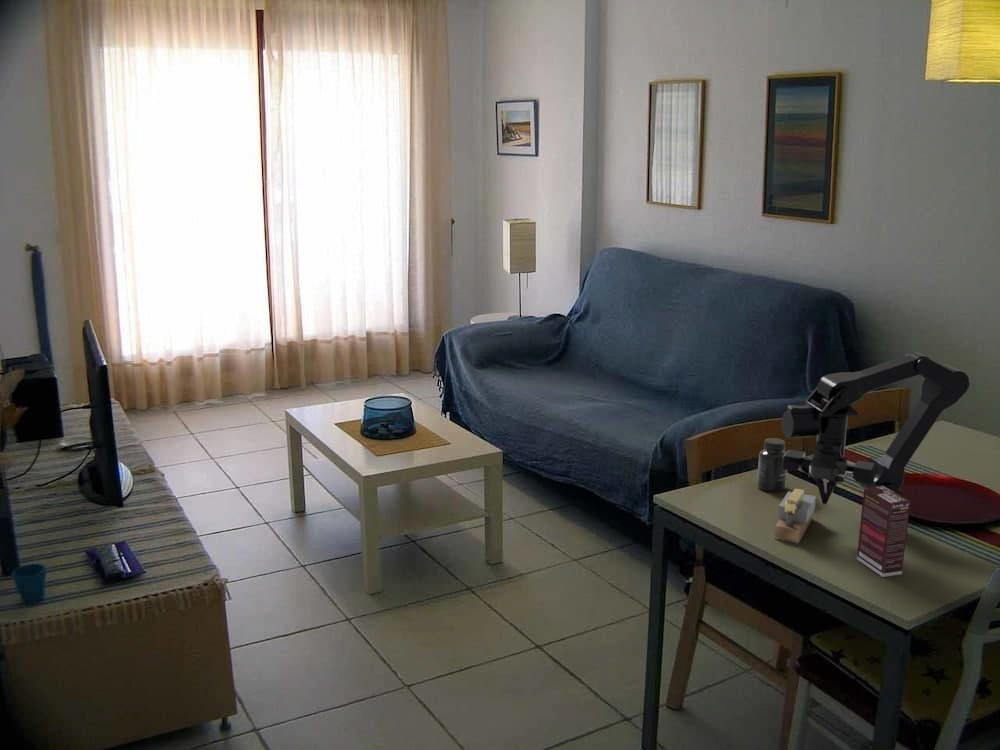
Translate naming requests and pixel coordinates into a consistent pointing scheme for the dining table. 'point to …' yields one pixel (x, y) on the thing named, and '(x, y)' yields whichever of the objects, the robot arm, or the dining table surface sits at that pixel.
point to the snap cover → (799, 509)
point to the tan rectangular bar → (794, 501)
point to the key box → (791, 529)
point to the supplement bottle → (772, 466)
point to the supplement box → (883, 530)
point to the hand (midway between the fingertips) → (824, 503)
